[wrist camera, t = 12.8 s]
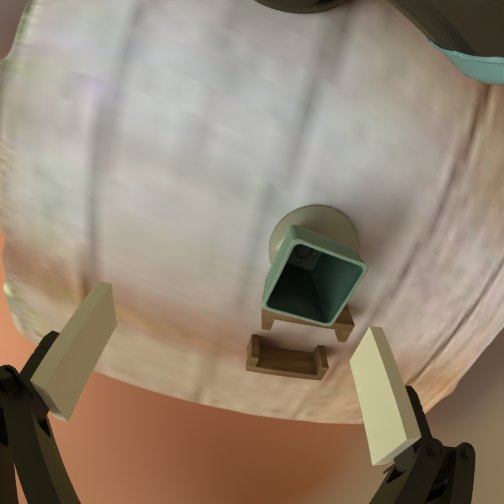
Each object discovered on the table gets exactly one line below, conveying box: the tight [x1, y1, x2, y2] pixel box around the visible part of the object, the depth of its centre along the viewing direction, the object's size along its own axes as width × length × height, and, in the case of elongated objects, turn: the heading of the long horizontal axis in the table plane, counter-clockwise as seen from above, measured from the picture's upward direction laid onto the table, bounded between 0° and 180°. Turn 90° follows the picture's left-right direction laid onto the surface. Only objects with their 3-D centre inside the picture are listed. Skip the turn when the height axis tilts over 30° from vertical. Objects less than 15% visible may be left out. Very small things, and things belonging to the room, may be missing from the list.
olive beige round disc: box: [269, 205, 359, 265], centre depth 37 cm, size 12×12×1 cm
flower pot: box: [262, 224, 368, 326], centre depth 33 cm, size 9×9×9 cm
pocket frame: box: [246, 304, 355, 380], centre depth 42 cm, size 13×13×5 cm
